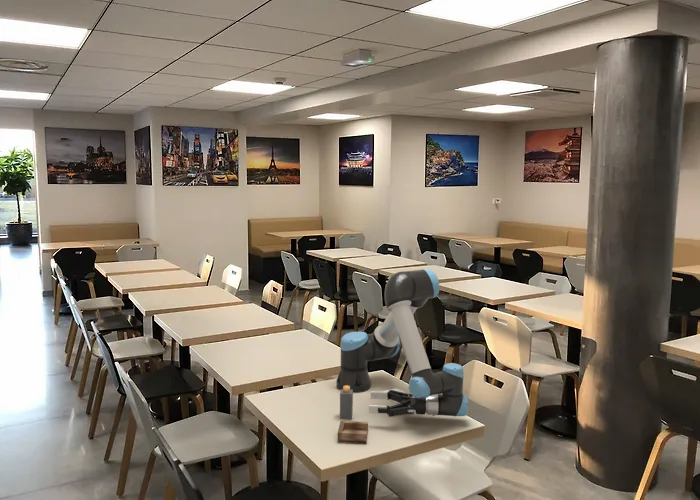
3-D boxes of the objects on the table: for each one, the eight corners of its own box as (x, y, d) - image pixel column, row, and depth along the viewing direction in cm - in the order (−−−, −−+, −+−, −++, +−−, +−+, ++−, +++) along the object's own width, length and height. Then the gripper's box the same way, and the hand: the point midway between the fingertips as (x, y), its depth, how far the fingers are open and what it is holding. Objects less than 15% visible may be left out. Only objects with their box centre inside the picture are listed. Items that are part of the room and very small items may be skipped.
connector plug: (352, 414, 219) (353, 384, 218) (351, 419, 215) (352, 388, 213) (341, 414, 220) (341, 384, 218) (339, 418, 215) (340, 388, 214)
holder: (368, 431, 205) (368, 422, 205) (366, 443, 195) (366, 434, 195) (340, 429, 206) (340, 420, 205) (337, 442, 196) (337, 432, 196)
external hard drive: (397, 391, 245) (414, 401, 234) (381, 394, 241) (397, 405, 230) (397, 388, 245) (414, 397, 234) (381, 391, 241) (397, 401, 230)
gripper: (427, 428, 202) (367, 425, 204) (424, 401, 227) (371, 398, 228) (428, 407, 201) (368, 405, 203) (424, 383, 226) (371, 380, 227)
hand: (369, 401), depth 216 cm, fingers open, 13 cm apart
